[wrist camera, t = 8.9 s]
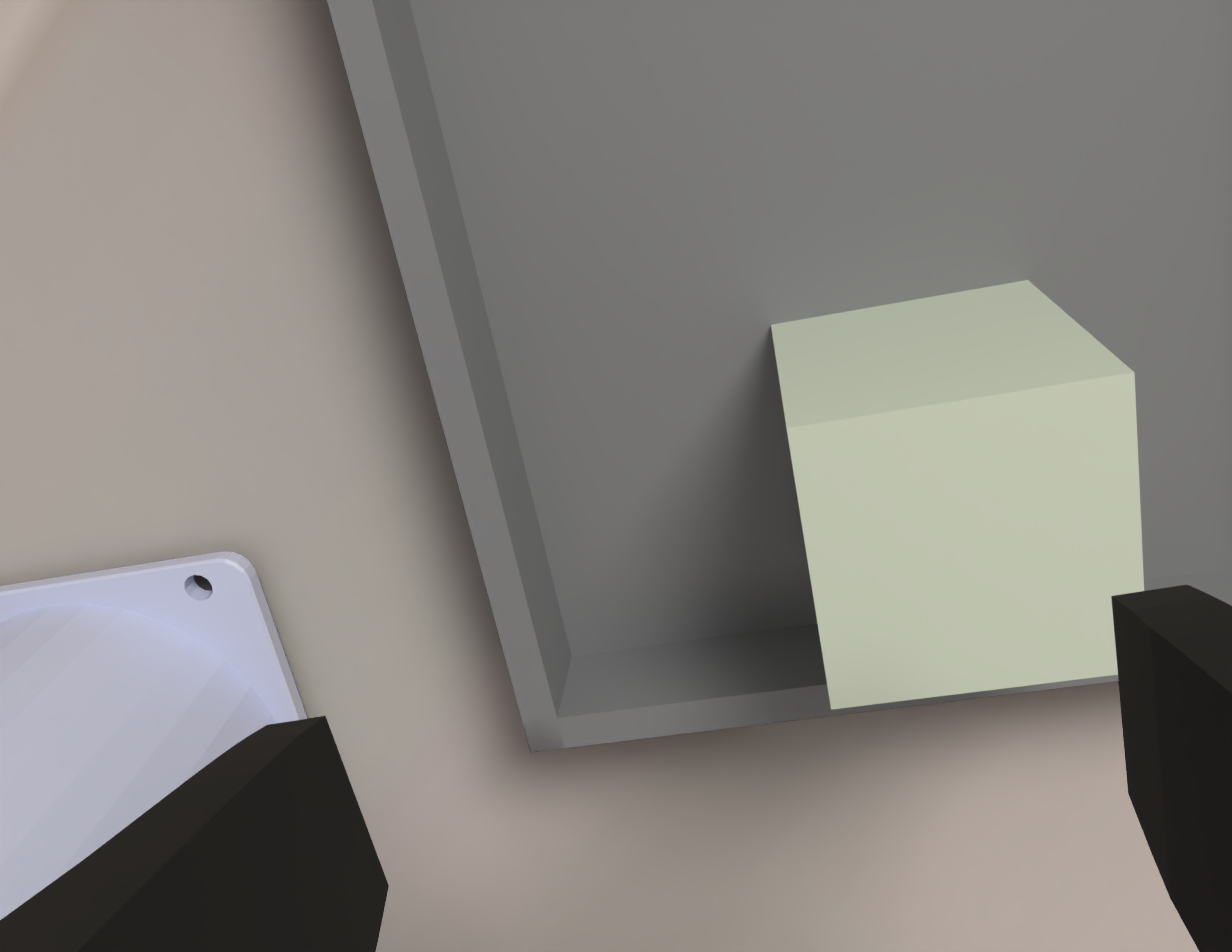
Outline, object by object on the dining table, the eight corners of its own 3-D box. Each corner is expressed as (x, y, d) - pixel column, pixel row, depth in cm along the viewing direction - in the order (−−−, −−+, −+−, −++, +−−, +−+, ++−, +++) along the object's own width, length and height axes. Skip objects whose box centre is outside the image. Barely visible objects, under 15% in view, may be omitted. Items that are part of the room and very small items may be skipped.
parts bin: (550, 674, 22) (530, 751, 19) (319, -232, 16) (253, -272, 14) (1355, 568, 20) (1439, 641, 17) (1385, -514, 14) (1513, -618, 12)
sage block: (806, 547, 20) (831, 708, 15) (771, 324, 18) (786, 428, 14) (1045, 513, 19) (1147, 671, 15) (1027, 279, 18) (1134, 372, 13)
